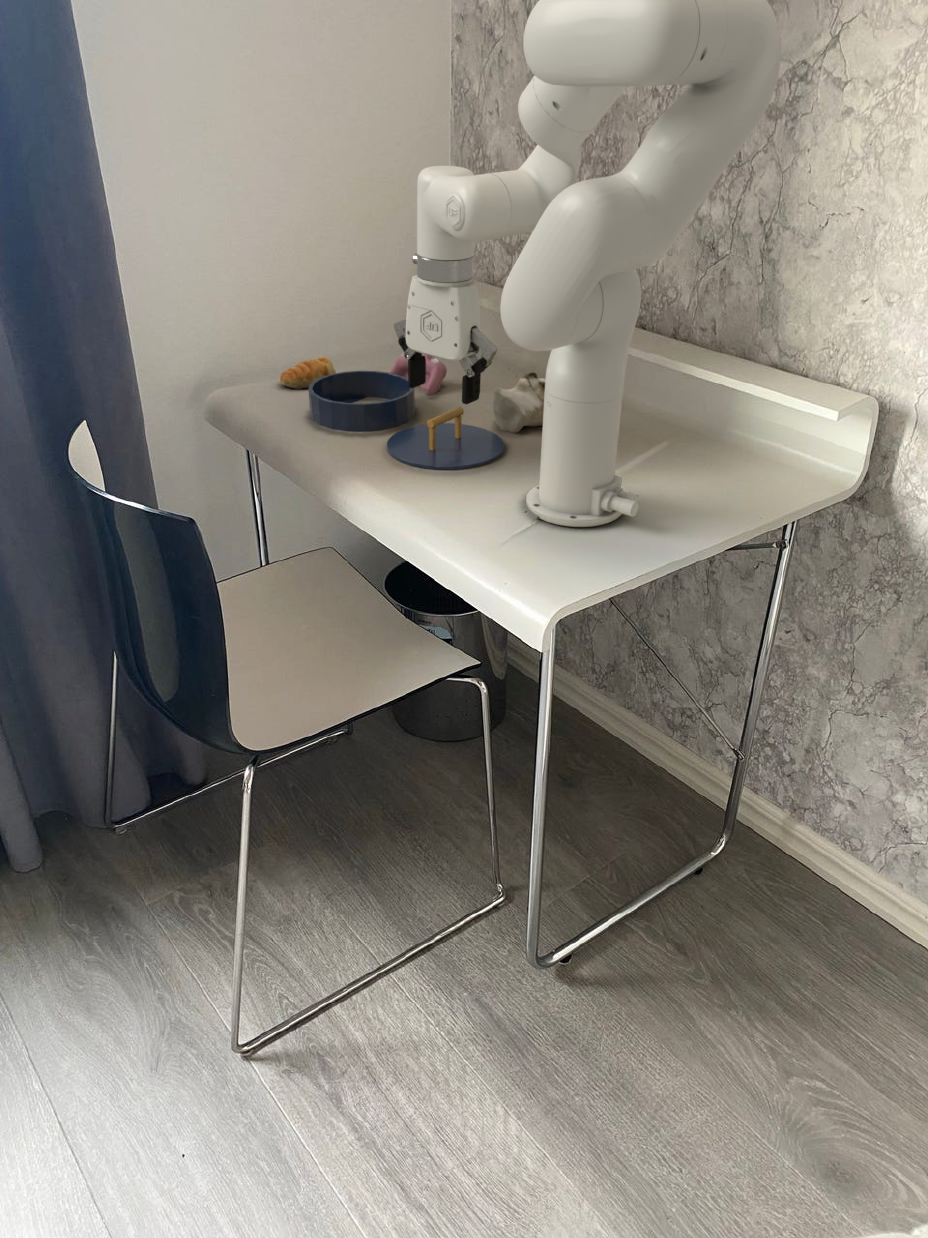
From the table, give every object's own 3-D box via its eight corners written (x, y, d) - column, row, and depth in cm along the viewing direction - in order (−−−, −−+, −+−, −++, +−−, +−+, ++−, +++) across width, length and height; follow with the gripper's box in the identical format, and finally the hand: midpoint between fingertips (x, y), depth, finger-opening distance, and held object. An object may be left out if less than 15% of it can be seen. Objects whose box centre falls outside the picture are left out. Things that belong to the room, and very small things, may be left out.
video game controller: (443, 401, 168) (453, 360, 167) (429, 396, 164) (440, 354, 163) (395, 391, 172) (405, 350, 171) (380, 385, 168) (390, 344, 167)
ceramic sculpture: (475, 368, 150) (552, 358, 158) (471, 423, 154) (546, 411, 162) (518, 388, 143) (596, 376, 151) (512, 445, 147) (589, 431, 155)
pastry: (292, 393, 166) (290, 371, 164) (272, 383, 171) (270, 361, 169) (340, 382, 171) (339, 360, 169) (319, 373, 176) (318, 351, 174)
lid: (526, 447, 147) (528, 410, 144) (455, 484, 135) (455, 444, 132) (436, 421, 156) (436, 386, 153) (362, 453, 144) (361, 416, 141)
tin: (435, 413, 159) (435, 384, 156) (366, 443, 148) (365, 411, 145) (360, 392, 167) (358, 364, 164) (289, 418, 156) (287, 388, 153)
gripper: (377, 262, 134) (379, 386, 143) (480, 285, 125) (476, 415, 134) (413, 253, 139) (413, 373, 148) (514, 274, 130) (508, 400, 140)
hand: (443, 393), depth 141 cm, fingers open, 9 cm apart
